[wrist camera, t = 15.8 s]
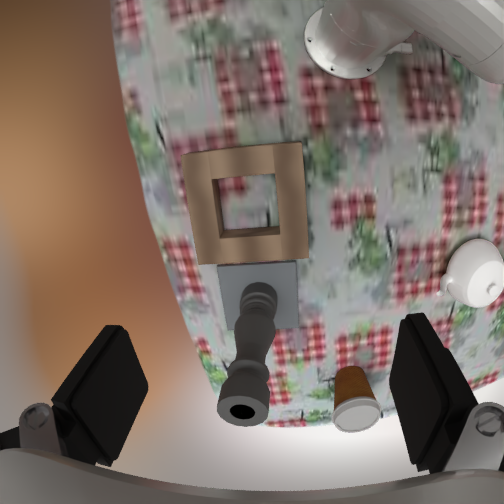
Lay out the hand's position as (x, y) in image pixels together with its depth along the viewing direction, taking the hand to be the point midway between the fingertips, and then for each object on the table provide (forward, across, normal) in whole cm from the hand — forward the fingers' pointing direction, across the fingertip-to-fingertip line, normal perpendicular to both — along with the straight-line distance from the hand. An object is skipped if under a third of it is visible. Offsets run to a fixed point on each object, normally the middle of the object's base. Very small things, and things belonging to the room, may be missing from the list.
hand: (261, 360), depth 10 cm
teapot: (+41, -34, +18) cm, 56 cm away
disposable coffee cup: (+40, -12, +42) cm, 60 cm away
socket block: (+40, +5, +4) cm, 41 cm away
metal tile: (+40, +5, +21) cm, 46 cm away
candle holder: (+40, +5, +21) cm, 45 cm away
